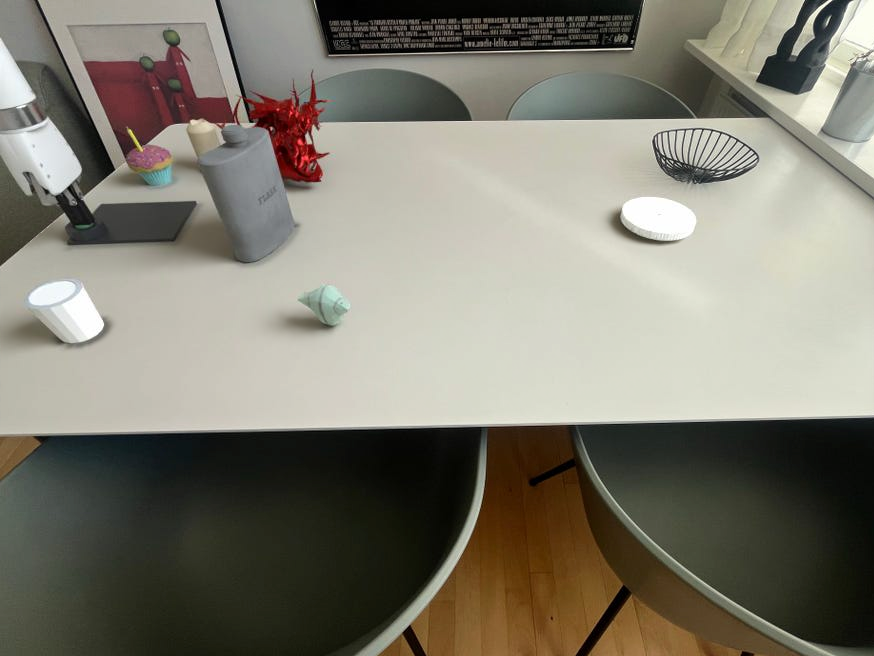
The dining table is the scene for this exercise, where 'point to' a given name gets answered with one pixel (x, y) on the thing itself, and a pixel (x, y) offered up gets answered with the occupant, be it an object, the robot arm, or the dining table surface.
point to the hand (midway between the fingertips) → (84, 222)
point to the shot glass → (65, 310)
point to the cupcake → (150, 162)
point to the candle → (202, 136)
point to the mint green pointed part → (326, 304)
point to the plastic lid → (658, 218)
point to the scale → (133, 223)
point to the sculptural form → (289, 133)
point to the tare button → (82, 226)
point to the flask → (248, 192)
